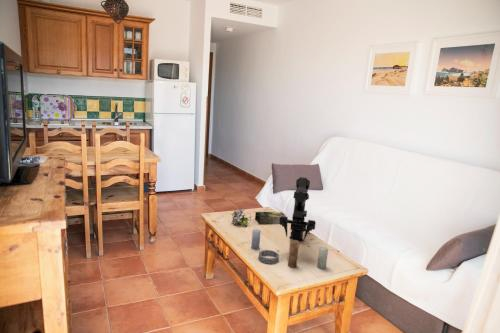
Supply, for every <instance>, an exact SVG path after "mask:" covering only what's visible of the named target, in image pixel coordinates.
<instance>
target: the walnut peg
mask: <svg viewBox="0 0 500 333" xmlns="http://www.w3.org/2000/svg"><path fill="white" fill-rule="evenodd" d="M299 245H300V241H297V240H292V239H290V241H289V250H288V260H287V266H288V267H289V268H292V269H294V268H296V267H297V266H298V265H297V263H298V257H299V256H298V255H299V247H300V246H299Z"/></svg>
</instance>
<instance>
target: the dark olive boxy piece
mask: <svg viewBox="0 0 500 333" xmlns="http://www.w3.org/2000/svg"><path fill="white" fill-rule="evenodd" d="M281 216H284V217H287V215H286V214H285V213H283V211H255V216H254V219H255V220H258V224H259V225H262V224H263V225H280V217H281Z"/></svg>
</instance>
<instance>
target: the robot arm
mask: <svg viewBox="0 0 500 333" xmlns="http://www.w3.org/2000/svg"><path fill="white" fill-rule="evenodd" d="M310 185H311V181H310V180H309V179H308V178H307V177H302V176H299V177H298V178H297V179H296V181H295V188H296V189H295V191H293V192H294V193H293V199H294V206H293V213H292V217H291V219H290V218H289V219H288V216H286V217H284V216H281V217H280V224H279V225H280V226H281V227H283V228H284V232H285V237H286V238H287V237H288V224H290V236H289V239H290V240H297V241H299V242H303V241H305V240H306V238H307V236H308V234H309V233H310V231H311V232H312V231H313V230H316V221H315V220H312V219H308V220H307V221H305V220H306V218H305V217H307V213H308V210H306V201H308V200H309V198H310V195H309V193H308V192H309V191H308V190H309V189H310V187H311V186H310Z"/></svg>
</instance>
